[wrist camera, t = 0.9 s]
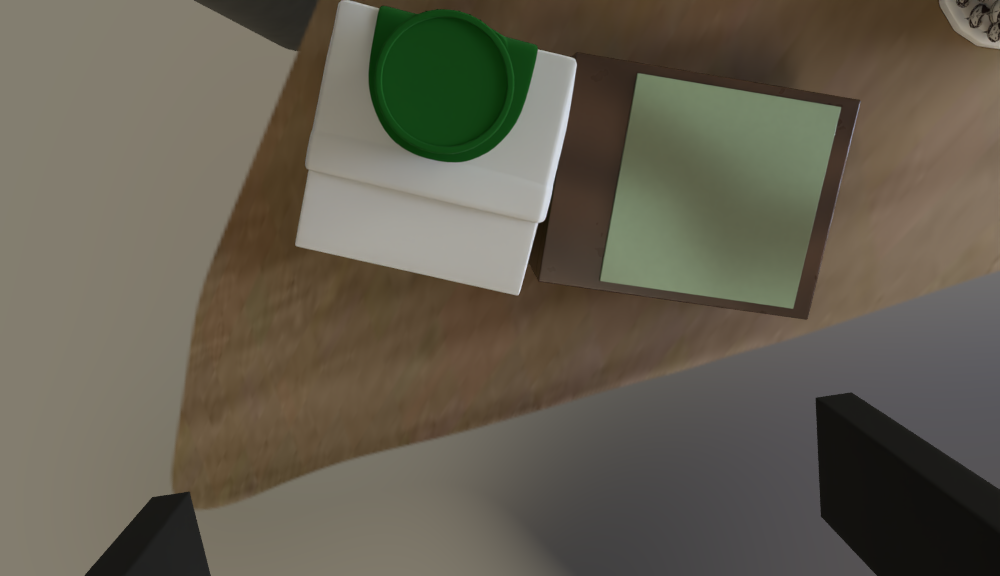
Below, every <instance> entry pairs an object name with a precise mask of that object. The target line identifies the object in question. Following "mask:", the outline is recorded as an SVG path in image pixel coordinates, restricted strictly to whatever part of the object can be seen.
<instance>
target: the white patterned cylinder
mask: <svg viewBox="0 0 1000 576" xmlns="http://www.w3.org/2000/svg"><path fill="white" fill-rule="evenodd" d="M939 5H940V8H941V9H942V11H943V13H944V14H945V16H946V18H947V19H948V21H949V23H950V24H951V26H952V28H953V29H954V31H956V32H957V33H958V34H960V35H961V36H963V37H964V38H966V39H967V40H969V41H970V42H972V43H973V44H975V45H976V46H981V47H988V48H995V49H1000V0H939Z"/></svg>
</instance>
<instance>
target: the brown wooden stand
mask: <svg viewBox="0 0 1000 576" xmlns="http://www.w3.org/2000/svg"><path fill="white" fill-rule="evenodd" d="M572 58H574V59H575V60H576V63H577V67H576V74H575V80H574V87H573V93H572V100H571V106H570V112H569V118H568V123H567V128H566V133H565V137H564V141H563V146H562V150H561V154H560V158H559V162H558V166H557V171H556V175H555V179H554V183H553V190H552V195H551V199H550V203H549V207H548V211H547V215H546V218H545V220H544V221H543V222H540V223H538V226H537V230H536V234H535V237H534V241H533V245H532V249H531V253H530V256H529V260H528V263H529V264H530V266H531V268H532V270H533V272H534V274H535V276H536V277H537V279H538V281H539V282H546V283H553V284H560V285H567V286H574V287H581V288H588V289H595V290H602V291H609V292H616V293H623V294H630V295H637V296H644V297H651V298H658V299H665V300H672V301H679V302H686V303H693V304H700V305H707V306H714V307H721V308H728V309H735V310H742V311H749V312H756V313H763V314H770V315H777V316H784V317H791V318H798V319H805V320H806V319H808V315H809V311H810V307H811V303H812V299H813V295H814V291H815V287H816V283H817V278H818V274H819V270H820V266H821V262H822V258H823V254H824V250H825V246H826V241H827V237H828V233H829V229H830V225H831V221H832V217H833V213H834V209H835V204H836V200H837V196H838V192H839V188H840V184H841V180H842V176H843V172H844V167H845V163H846V159H847V155H848V151H849V147H850V143H851V139H852V135H853V130H854V126H855V122H856V118H857V114H858V110H859V106H860V102H861V101H860V100H857V99H851V98H845V97H839V96H833V95H827V94H821V93H815V92H810V91H804V90H798V89H792V88H786V87H780V86H774V85H768V84H762V83H756V82H750V81H744V80H738V79H732V78H726V77H720V76H714V75H709V74H703V73H697V72H691V71H685V70H679V69H673V68H667V67H661V66H655V65H649V64H643V63H637V62H631V61H625V60H619V59H614V58H608V57H602V56H596V55H590V54H584V53H578V52H577V53H576V54H574V55H573V56H572Z"/></svg>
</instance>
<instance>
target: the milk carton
mask: <svg viewBox="0 0 1000 576" xmlns="http://www.w3.org/2000/svg"><path fill="white" fill-rule="evenodd" d="M576 67H577V63H576V60H575V59H574V58H572V57H568V56H564V55H560V54H556V53H551V52H547V51H543V50H539V49H538V47H537V45H535V44H531V43H527V42H523V41H520V40H516V39H512V38H508V37H504V36H503V35H501V34H500V33H498V32H496V31H494V30H493V29H491V28H490V27H488V26H487V25H486V24H485V23H483V22H482V21H481V20H480V19H477V18H475V17H473V16H471V15H470V14H466V13H463V12H461V11H455V10H446V9H440V10H438V9H436V10H431V11H425V12H423V13H420V14H415V13H411V12H407V11H403V10H399V9H395V8H391V7H387V6H381V7H380V9H379V8H376V7H372V6H368V5H365V4H361V3H357V2H354V1H350V0H341V1H340V2H339V4H338V8H337V13H336V18H335V23H334V28H333V32H332V36H331V41H330V45H329V49H328V53H327V57H326V63H325V68H324V73H323V78H322V83H321V88H320V93H319V98H318V103H317V108H316V113H315V118H314V123H313V129H312V131H311V134H310V138H309V143H308V148H307V154H306V160H305V166H306V168H307V169H309V171H308V176H307V181H306V187H305V192H304V198H303V203H302V209H301V214H300V219H299V225H298V230H297V236H296V242H295V245H296V246H298V247H302V248H306V249H311V250H315V251H320V252H324V253H329V254H333V255H338V256H342V257H347V258H351V259H356V260H360V261H365V262H369V263H373V264H378V265H382V266H387V267H391V268H396V269H400V270H405V271H409V272H414V273H418V274H423V275H427V276H432V277H436V278H441V279H445V280H450V281H454V282H459V283H463V284H468V285H472V286H477V287H481V288H486V289H490V290H495V291H499V292H504V293H508V294H513V295H519V293H520V290H521V286H522V283H523V279H524V275H525V271H526V268H527V264H528V260H529V256H530V253H531V249H532V245H533V241H534V237H535V234H536V230H537V226H538V223H540V222H543V221H544V220H545V218H546V215H547V211H548V207H549V203H550V199H551V195H552V190H553V183H554V179H555V175H556V171H557V166H558V162H559V158H560V154H561V150H562V146H563V141H564V137H565V133H566V128H567V123H568V118H569V112H570V106H571V100H572V93H573V87H574V80H575V74H576Z"/></svg>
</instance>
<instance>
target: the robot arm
mask: <svg viewBox="0 0 1000 576" xmlns="http://www.w3.org/2000/svg"><path fill="white" fill-rule="evenodd" d="M816 416H817V439H818V461H819V483H820V504H821V505H820V506H821V517H822V518H823V519H824V520H825V521H826V522H827V523H828V524H829V525H830V526H831V528H832V529H833V530H834V531H835V532H837V534H838V535H839V536H840V537H841V538H842V539H843V540H844V541H845V542H846V543H847V544H848V545H849V546H850V548H851V549H852V550H853V551H854V552H855V553H856V554H857V555H858V556H859V557H860V558H861V559H862V560H863V561H864V562H865V563H866V564H867V566H868V567H869V568H870V569H871V570H872V571H873V572H874V573H875V574H876V575H877V576H1000V489H998V488H996V487H995V486H993V485H992V484H990V483H989V482H987V481H986V480H984V479H983V478H981V477H980V476H978V475H977V474H975V473H974V472H972V471H971V470H969V469H967V468H966V467H964V466H963V465H961V464H960V463H958V462H957V461H955V460H954V459H952V458H950V457H949V456H948V455H946V454H945V453H943V452H941V451H940V450H938V449H937V448H935V447H934V446H932V445H931V444H929V443H928V442H926V441H925V440H923V439H921V438H920V437H918V436H917V435H916V434H914V433H913V432H911V431H909V430H908V429H906V428H905V427H903V426H902V425H900V424H899V423H897V422H896V421H894V420H893V419H891V418H890V417H888V416H887V415H885V414H884V413H882V412H880V411H879V410H877V409H876V408H874V407H873V406H871V405H870V404H868V403H867V402H865V401H864V400H862V399H860V398H859V397H858V396H856V395H854V394H853V393H845V394H838V395H831V396H825V397H818V398H816ZM85 576H211V575H210V571H209V567H208V563H207V559H206V556H205V551H204V548H203V543H202V540H201V536H200V532H199V528H198V524H197V520H196V516H195V512H194V508H193V504H192V500H191V496H190V492H184V493H178V494H171V495H164V496H158V497H152V498H151V499H150V500H149V502H148V503H147V504H146V505H145V506H144V507H143V509H142V510H141V511H140V512H139V513H138V514H137V515H136V517H135V518H134V519H133V520H132V521H131V522H130V524H129V525H128V526H127V527H126V528H125V529H124V531H123V532H122V533H121V534H120V535H119V536H118V538H117V539H116V540H115V541H114V542H113V543H112V544H111V546H110V547H109V548H108V549H107V550H106V551H105V552H104V554H103V555H102V556H101V557H100V558H99V559H98V561H97V562H96V563H95V564H94V565H93V566H92V568H91V569H90V570H89V571H88V572H87V573H86V575H85Z"/></svg>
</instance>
